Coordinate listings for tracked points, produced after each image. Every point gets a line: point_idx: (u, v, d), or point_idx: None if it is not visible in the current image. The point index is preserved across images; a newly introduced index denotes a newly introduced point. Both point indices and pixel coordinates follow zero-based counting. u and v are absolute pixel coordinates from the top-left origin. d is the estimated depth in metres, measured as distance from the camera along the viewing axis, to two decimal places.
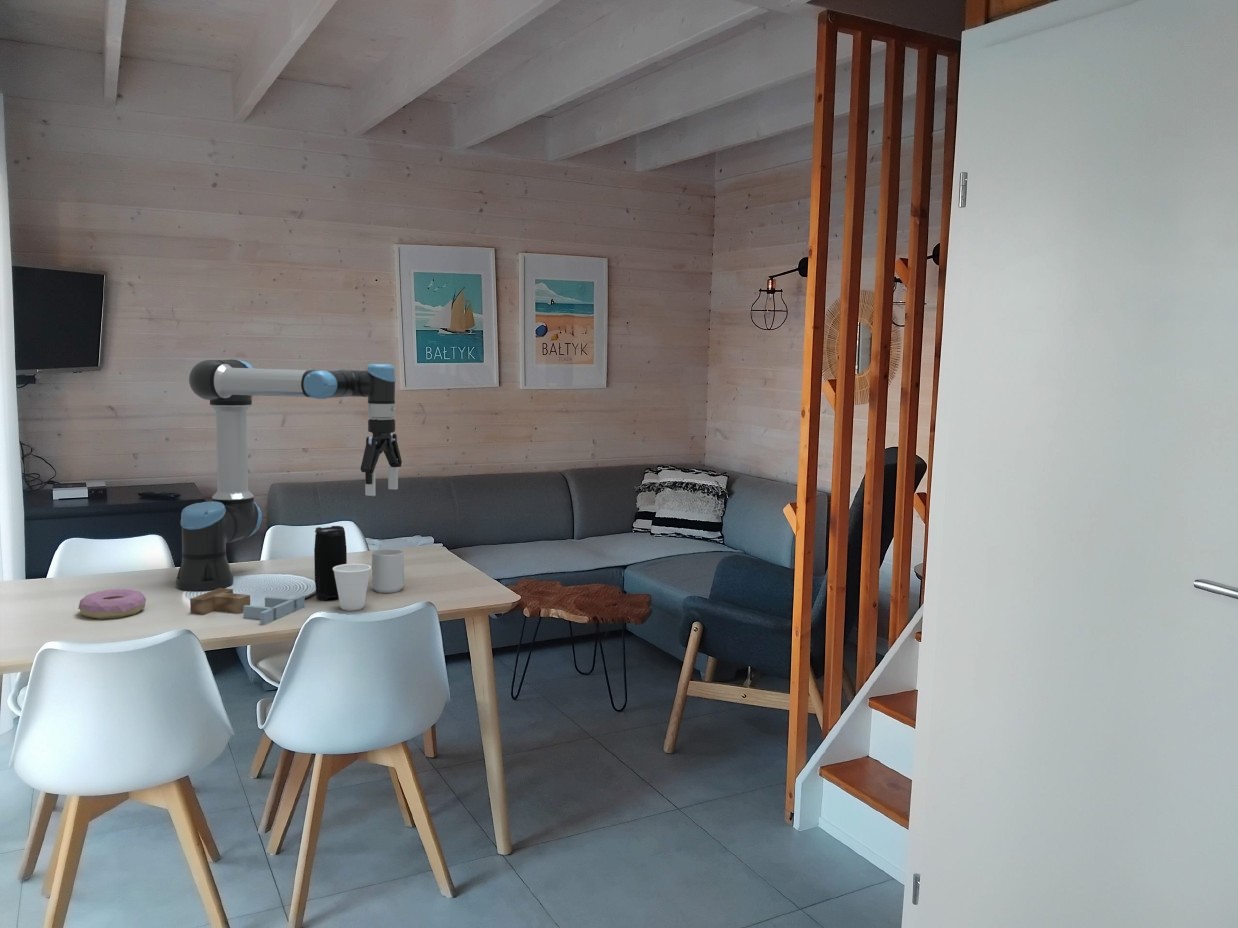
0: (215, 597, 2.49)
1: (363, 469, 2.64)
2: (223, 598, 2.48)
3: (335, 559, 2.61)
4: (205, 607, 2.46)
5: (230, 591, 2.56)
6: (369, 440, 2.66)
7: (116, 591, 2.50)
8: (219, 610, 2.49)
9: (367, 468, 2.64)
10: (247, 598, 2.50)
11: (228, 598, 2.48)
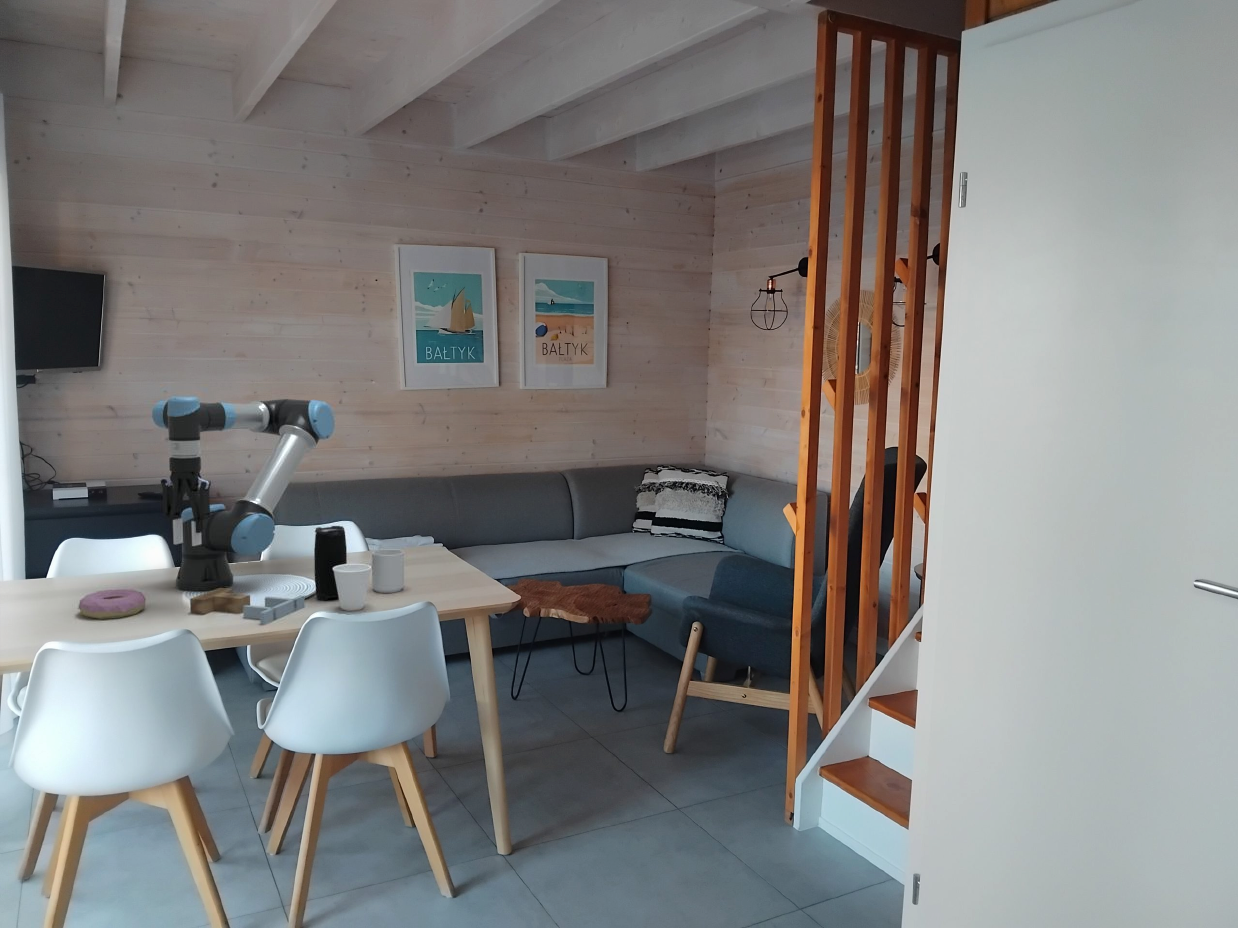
0: (215, 597, 2.49)
1: None
2: (223, 598, 2.48)
3: (335, 559, 2.61)
4: (205, 607, 2.46)
5: (230, 591, 2.56)
6: None
7: (116, 591, 2.50)
8: (219, 610, 2.49)
9: None
10: (247, 598, 2.50)
11: (228, 598, 2.48)
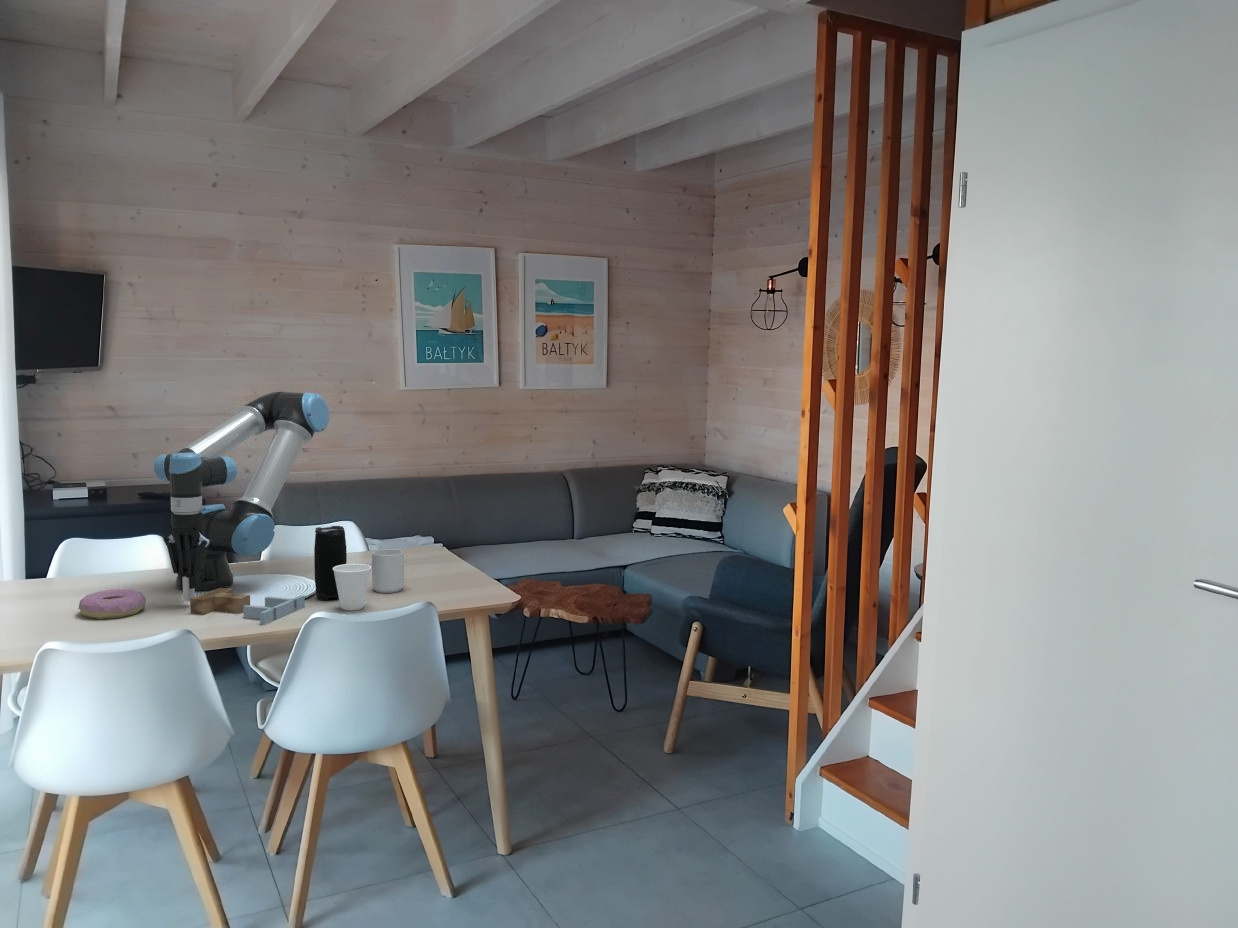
0: (215, 597, 2.49)
1: None
2: (223, 598, 2.48)
3: (335, 559, 2.61)
4: (205, 607, 2.46)
5: (230, 591, 2.56)
6: None
7: (116, 591, 2.50)
8: (219, 610, 2.49)
9: None
10: (247, 598, 2.50)
11: (228, 598, 2.48)
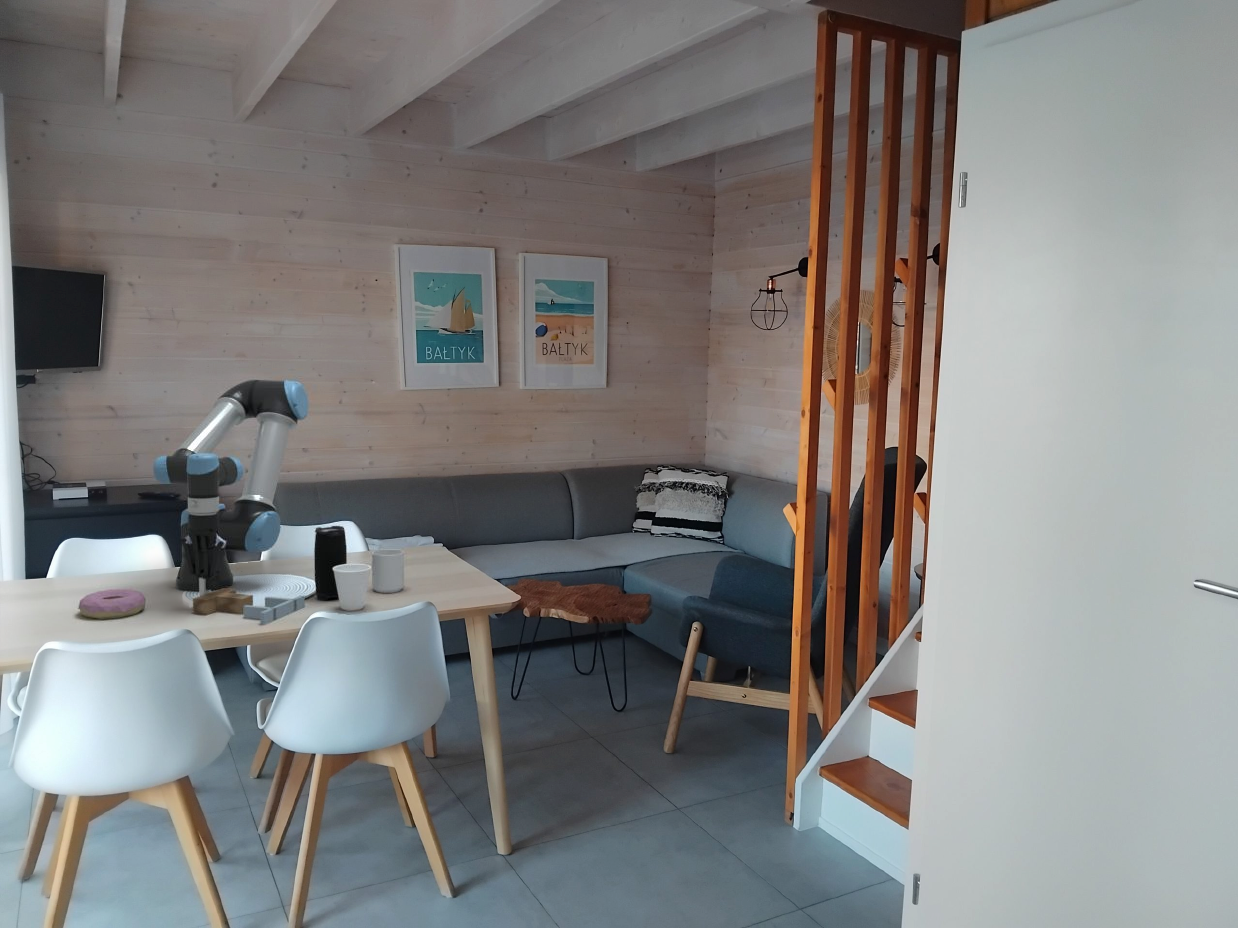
0: (218, 597, 2.49)
1: None
2: (226, 598, 2.48)
3: (335, 559, 2.61)
4: (207, 607, 2.46)
5: (233, 591, 2.56)
6: None
7: (116, 591, 2.50)
8: (222, 610, 2.49)
9: None
10: (250, 598, 2.50)
11: (231, 598, 2.48)
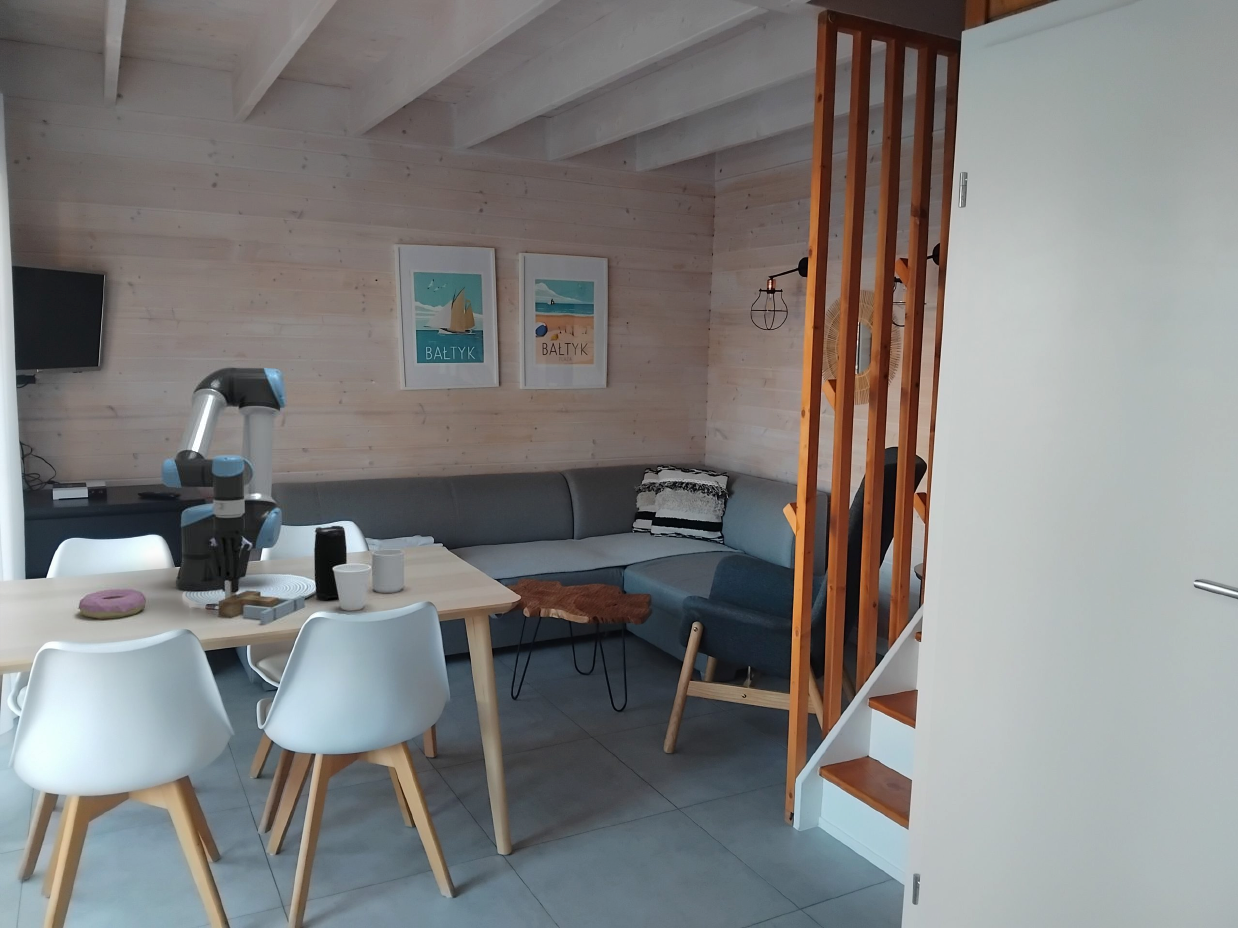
0: (243, 600, 2.47)
1: None
2: (251, 601, 2.46)
3: (335, 559, 2.61)
4: (233, 610, 2.44)
5: (258, 594, 2.54)
6: None
7: (116, 591, 2.50)
8: None
9: None
10: (276, 601, 2.48)
11: (256, 601, 2.46)
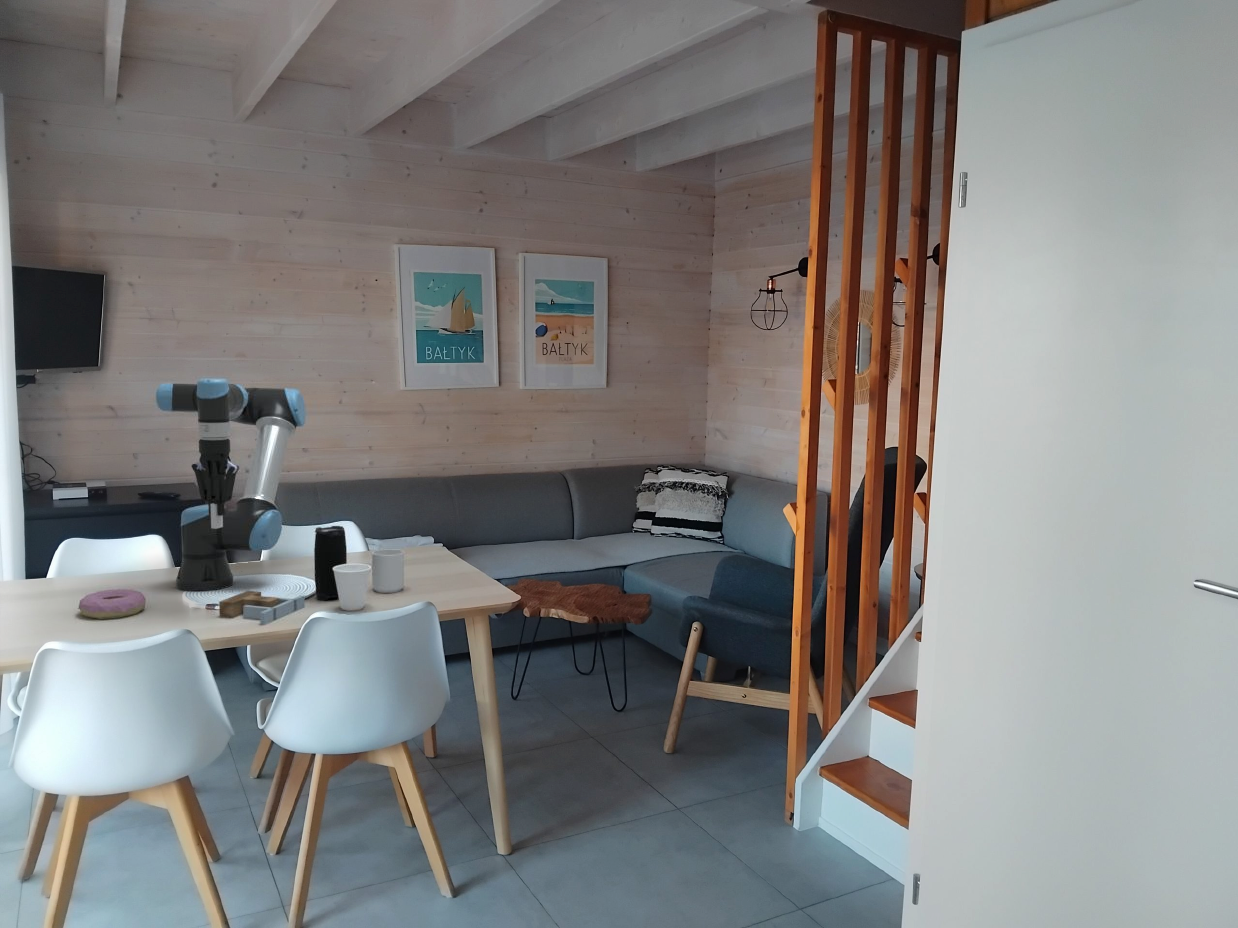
0: (244, 600, 2.47)
1: None
2: (252, 601, 2.46)
3: (335, 559, 2.61)
4: (234, 610, 2.44)
5: (258, 594, 2.54)
6: None
7: (116, 591, 2.50)
8: None
9: None
10: (276, 601, 2.48)
11: (257, 601, 2.46)
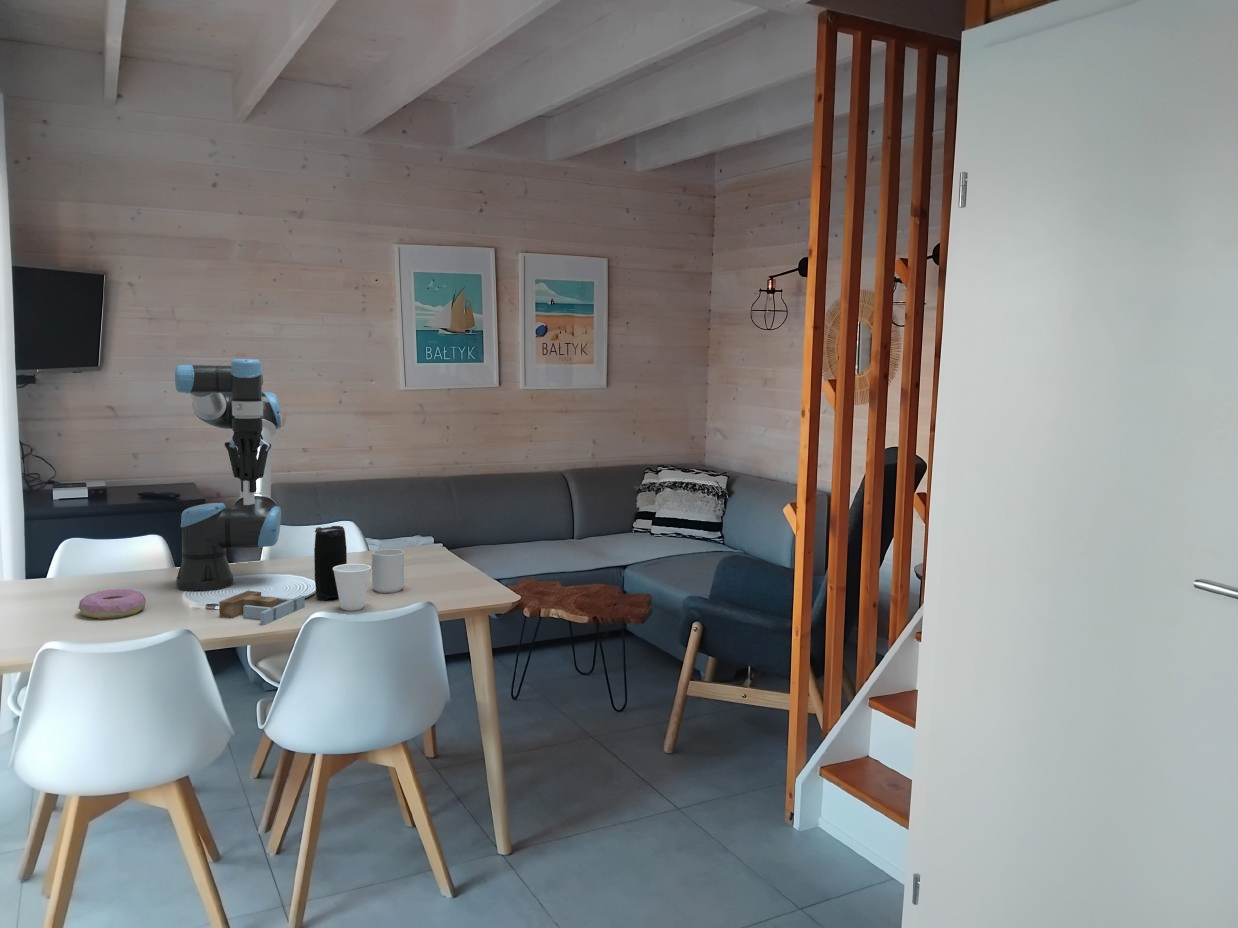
0: (244, 600, 2.47)
1: None
2: (252, 601, 2.46)
3: (335, 559, 2.61)
4: (234, 610, 2.44)
5: (258, 594, 2.54)
6: None
7: (116, 591, 2.50)
8: None
9: None
10: (276, 601, 2.48)
11: (257, 601, 2.46)
